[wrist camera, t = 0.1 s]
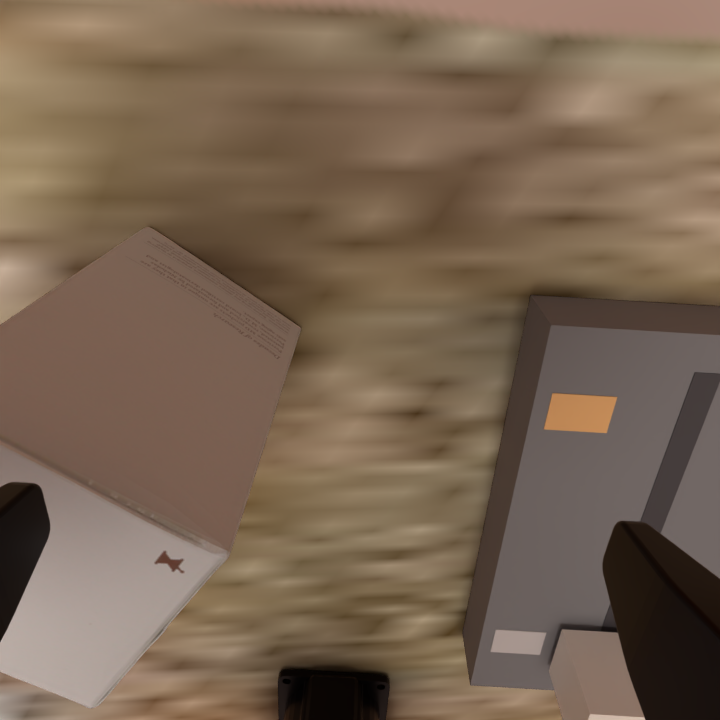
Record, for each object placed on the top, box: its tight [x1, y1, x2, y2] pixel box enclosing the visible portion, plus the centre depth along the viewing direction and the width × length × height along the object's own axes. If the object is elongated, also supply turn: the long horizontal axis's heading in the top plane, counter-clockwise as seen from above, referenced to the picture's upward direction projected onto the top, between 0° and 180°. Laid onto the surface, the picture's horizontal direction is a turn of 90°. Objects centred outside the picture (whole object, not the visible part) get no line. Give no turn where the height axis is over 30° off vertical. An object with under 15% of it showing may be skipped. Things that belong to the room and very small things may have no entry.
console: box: [463, 295, 720, 690], centre depth 26 cm, size 20×12×3 cm, turn 177°
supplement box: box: [0, 227, 301, 708], centre depth 18 cm, size 7×7×13 cm
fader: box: [549, 629, 645, 720], centre depth 25 cm, size 3×5×4 cm, turn 87°
